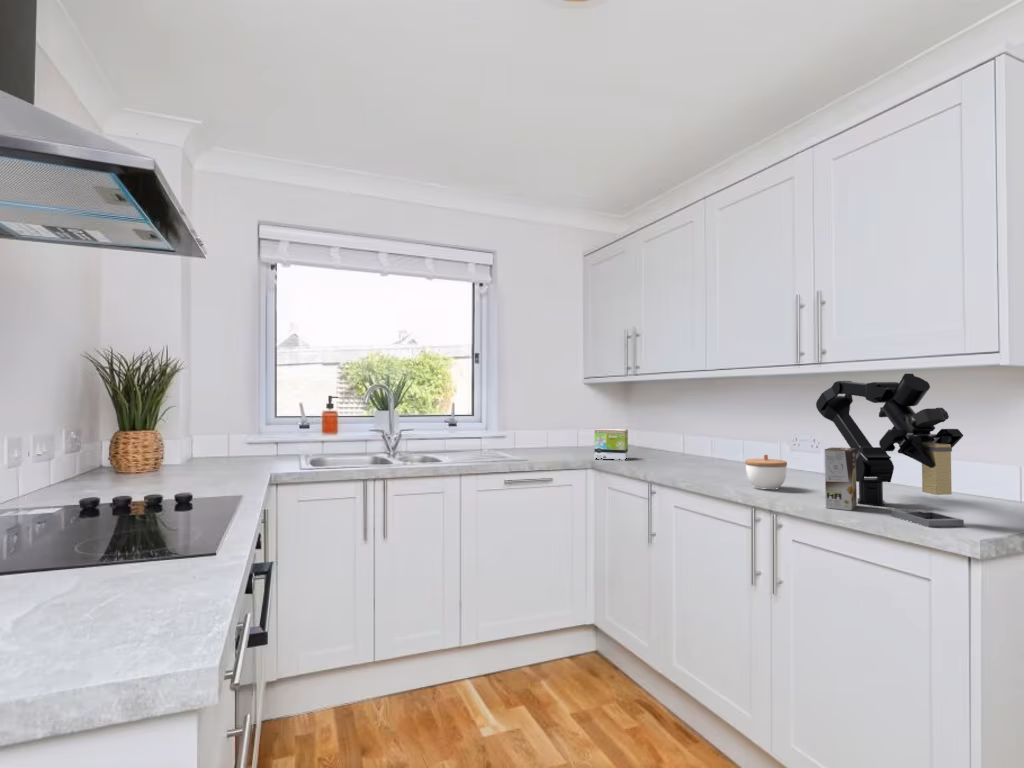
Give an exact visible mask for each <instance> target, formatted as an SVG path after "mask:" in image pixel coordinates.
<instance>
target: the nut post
mask: <svg viewBox="0 0 1024 768" xmlns="http://www.w3.org/2000/svg"><path fill="white" fill-rule="evenodd" d="M922 447H923V448H924V450H925V451H926V452H927V454H928V455H929V457H930V458H931V460H932V461H933V463H934V467H933V468H930V467H928V466H926V465H924V464H922V463H921V484H922V485H921V488H922V490H921V492H922V493H926V494H931V495H936V496H940V495H941V496H943V495H944V496H945V495H946V496H947V495H952V452H953V447H951V444H943V443H922Z"/></svg>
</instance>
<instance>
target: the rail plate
mask: <svg viewBox="0 0 1024 768" xmlns="http://www.w3.org/2000/svg"><path fill="white" fill-rule="evenodd" d="M890 516H891V517H894V518H896V517H897V518H896V519H899V518H901V519H900V520H903V519H904V521H906V520H908V521H907V522H910V521H912V522H911V523H913V522H915V523H914V524H916V523H919V524H918V525H920V524H922V525H921V526H923V525H925V527H927V526H928V528H951V527H953V526H965V525H964V524H965V522H964V521H965V520H964V519H961V518H957V517H954V516H949V515H945V514H943V513H938V512H933V511H929V510H926V509H891V511H890ZM924 518H933V519H924ZM938 526H939V527H938ZM940 526H941V527H940Z"/></svg>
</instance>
